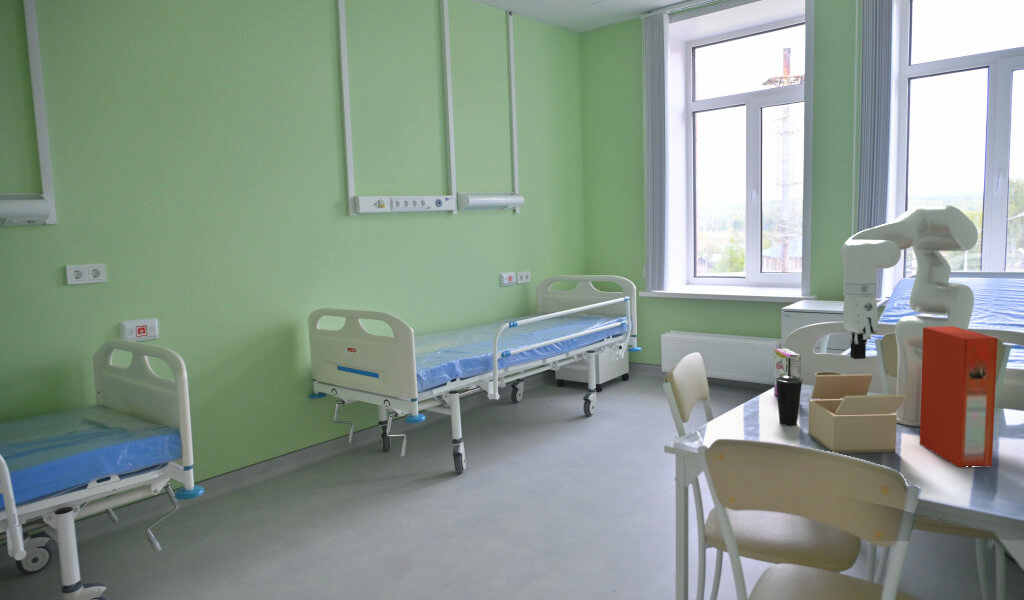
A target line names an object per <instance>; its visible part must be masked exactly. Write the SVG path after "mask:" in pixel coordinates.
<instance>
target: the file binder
mask: <svg viewBox="0 0 1024 600" xmlns="http://www.w3.org/2000/svg"><path fill="white" fill-rule="evenodd" d="M997 353H998V337H996V336H995V337H994V336H991V335H988V334H987V335H986V334H983V333H979V332H976V331H973V330H965V329H961V328H957V327H954V326H947V327H925V328H923V350H922V382H921V415H920V427H919V444H920V445H921V444H922V445H923V446H922V445H921V446H922V447H924V446H925V447H924V448H926V449H927V448H928V450H929V449H930V450H929V451H931V450H932V451H933V453H934V452H935V453H934V454H936V453H937V454H938V455H937V454H936V455H937V456H939V455H940V456H939V457H941V456H942V457H943V458H942V457H941V458H942V459H944V458H945V459H944V460H946V459H947V460H948V461H947V460H946V461H947V462H949V461H950V462H949V463H951V462H952V463H953V464H952V463H951V464H952V465H954V464H955V465H954V466H956V465H957V466H958V467H957V466H956V467H957V468H959V467H966V466H968V467H972V466H990V467H992V466H993V451H994V450H993V446H994V445H993V444H994V429H995V428H994V425H995V404H996V403H995V401H996V377H997V360H998V359H997V357H998V356H997V355H998V354H997ZM932 451H931V452H932Z"/></svg>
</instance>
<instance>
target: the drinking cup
mask: <svg viewBox="0 0 1024 600" xmlns="http://www.w3.org/2000/svg"><path fill="white" fill-rule="evenodd" d="M790 368H791V358H788V375H782V376H779V377H776V378H775V380H776V384H777V396H778V397H777V396H776V397H777V408H778V409H777V410H778V417H779V418H778V419H779V420H778V421H779V424H780V425H783V426H786V427H787V426H788V427H792V426H794V427H795V426H797V425H798V418H799V417H798V416H799V409H800V408H799V407H800V403H801V391H802V386H803V385H802V384H803V383H804V380H803V378H801V377H800V378H799V377H797V376H794V375H790ZM799 402H800V403H799Z"/></svg>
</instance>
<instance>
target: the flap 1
mask: <svg viewBox="0 0 1024 600" xmlns="http://www.w3.org/2000/svg"><path fill="white" fill-rule="evenodd" d="M844 374H845V373H844ZM873 375H874V374H872V373H859V374H858V373H853V374H852V373H851V374H848V373H847V374H845V375H817V376H816V375H815V376H816V377H815V381H814V386H813V388H812V392H811V400H821V399H825V398H840V399H843V398H844V397H845V396H858V395H868V393H869V389H870V385H871V382H872V380H873Z"/></svg>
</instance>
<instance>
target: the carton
mask: <svg viewBox="0 0 1024 600" xmlns="http://www.w3.org/2000/svg"><path fill="white" fill-rule="evenodd" d="M842 400H843V398H840V399H824V400H821V399H808V435H810V437H811V438H813V439H814V440H816V441H817V442H818V443H820V444H821V445H822V446H823V447H824V448H826V449H827V450H828V451H830V452H831V451H833V452H838V453H837V454H863V453H865V454H867V453H868V454H869V453H872V454H873V453H874V454H876V453H896V447H897V446H896V445H897V443H896V442H897V424H898V423H897V415H896V414H894V413H886V414H835V412H836V410H837V408H838V407H839V405H840V403H841V402H842ZM844 452H845V453H844Z"/></svg>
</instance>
